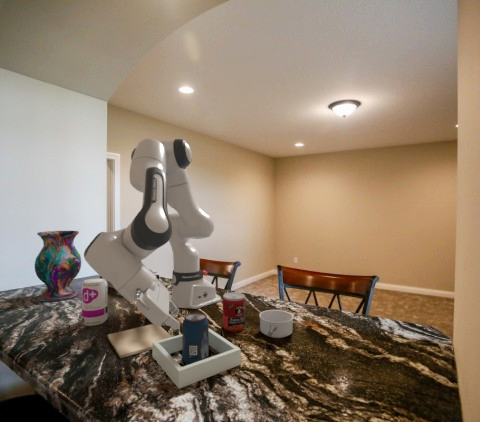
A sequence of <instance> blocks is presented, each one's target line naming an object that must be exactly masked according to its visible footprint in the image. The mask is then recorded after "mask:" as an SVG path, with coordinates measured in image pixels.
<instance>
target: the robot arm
mask: <svg viewBox="0 0 480 422" xmlns="http://www.w3.org/2000/svg"><path fill="white" fill-rule="evenodd" d="M189 144H190V143H188V141H186V140H185V139H182V138H175V139H169V140H167V139H166V140H157V139H155V138H149V137H148V138H145V139H142V140H140V141H139V142H138V144H137V146H136V147H135V148H134V149H133V150H132V151H131V158H130V159H131V161H130V166H129V183H130V185H131V186H132V187H133V188H134V190H136V191H138V192H139V193H142V205H141V206H142V207H141V209H140V210H139V211H138V212H137V214H136V215H135V217H134V218H133V220H132V221H131V222H130V224H128V226H127V227H124V228H121V229H118V230H115V231H101V232H99V233H98V234H96V235H95V237H94V238H93V239H92V240H91V242H89V244H88V245H87V247H86V248H85V250H84V252H83V259H84V260H85V262H86V263H87V264H88V265H89V266H90V268H92V269H93V271H94V272H96V274H97V275H99V277H100V276H101V277H102V278H103V279H104V280H107V281H109V282H110V283H111V284H112V285H113V286H114V288H115V289H116V290H117V291H118V292H117V293H119V294H120V295H121V296H122V297H123V298H124V299H126V300H127V301H128V302H129V303H131V304H133V303H134V302H135V301H136V302H135V303H136V304H135V306H136V308H137V309H138V311H140V313H142V314H143V316H144V317H146V318H147V320H148V321H149V322H150V323H151V324H154V325H156V326H161V325H162V324H165V325H166V326H169V327H171V329H173V330H174V331H177V330H178V329H179V328H180V326H181V322H180V321H179V320H178V319H177V318H174V317H177V316H178V315H179V313H180V309H181V308H182V309H193V310H194V309H195V310H196V309H200V308H202V307H206V306H208V305H213V304H216V303H218V302H221V301H222V297H221V295H219V294H217V290H216V287H215V286H214V284H212V283H211V282H210V281H208V280H207V279H206V278H205V277H207V275H208V271H206V270H202V269H201V268H200V252H199V250H198V249H197V248H196V247H195V246H194V245H193V244H192V242H191V240H202V239H207V238H210V237H211V236H212V234H213V233H214V231H215V230H214V229H215V222H214V220H213V218H212V216H211V215H209V214H207V213H206V212H205V211H204V210H203V209H202V208H201V207H200V205H199V203H197V200H196V199H195V196H194V194H193V190H192V186H191V181H190V178H189V175H188V171H187V167H188V166H189V165H190V164H191V163H192V157H193V152H192V149H191V147H190V145H189ZM168 206H169V207H170V208H172V209H174V210H175V212H174V213H173V212H172V213H169V210H168ZM168 242H169V244H170V246H171V250H172V258H173V270H172V277H171V279H172V290H171V291H172V292H171V294H170V291H169V290H168V289H167V287H166V286H165V285H164V284H163V283H162V282H161V281H160V279H159V280H158V279H157V278H156V275H157V274H156V273H154V271H153V270H152V269H150V268H148V267H147V266H146V265H145V264H144V263H143V262H142V260H144V259H146V258H147V257H149V256H150V255H152V253H154V252H156V250H158V249H160V248H161V247H162V246H164V245H166V244H167V243H168ZM155 274H156V275H155ZM204 276H205V277H204ZM179 308H180V309H179ZM171 314H172V315H173V316H174V317H173V316H172V315H171Z"/></svg>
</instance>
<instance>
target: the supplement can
mask: <svg viewBox="0 0 480 422" xmlns="http://www.w3.org/2000/svg"><path fill="white" fill-rule="evenodd" d="M107 287H108V283H107V282H106V280H104V279H103V278H100V277H95V278H89V279H85V280H84V281H83V283H82V284H81V323H82V325H85V326H88V327H91V326H92V327H93V326H99V325H102V324H103V323H105V322H106V321H107V320H108V290H107Z"/></svg>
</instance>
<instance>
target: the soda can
mask: <svg viewBox="0 0 480 422" xmlns="http://www.w3.org/2000/svg"><path fill="white" fill-rule="evenodd" d="M182 334H183V337H182V350H181V353H182V360H183V362H184V363H185V364H186V365H189V364H192V363H195V362H198V361H201V360H204V359H207V358H209V352H210V351H209V346H210V345H209V320H208V318H207V314H206V313H204V312H196V311H195V312H191V313H187V314H185V315H184V320H183V322H182Z"/></svg>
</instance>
